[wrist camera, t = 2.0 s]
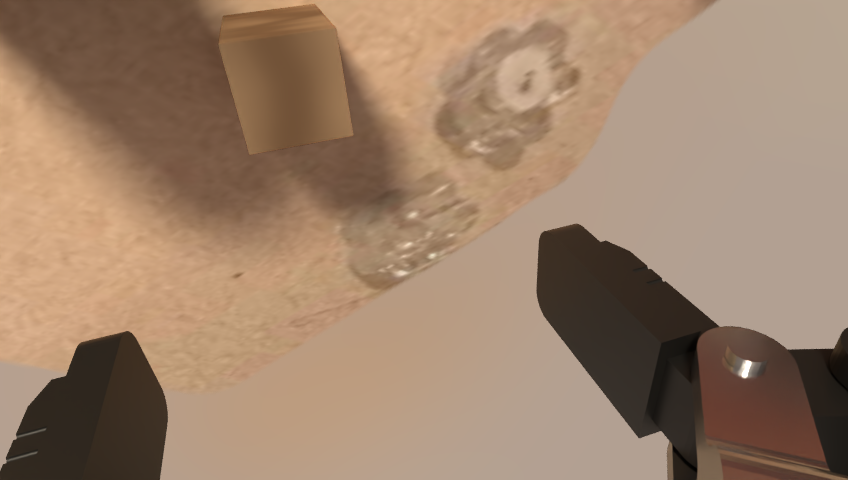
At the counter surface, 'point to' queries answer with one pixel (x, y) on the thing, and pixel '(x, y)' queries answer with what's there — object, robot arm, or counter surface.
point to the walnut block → (285, 77)
